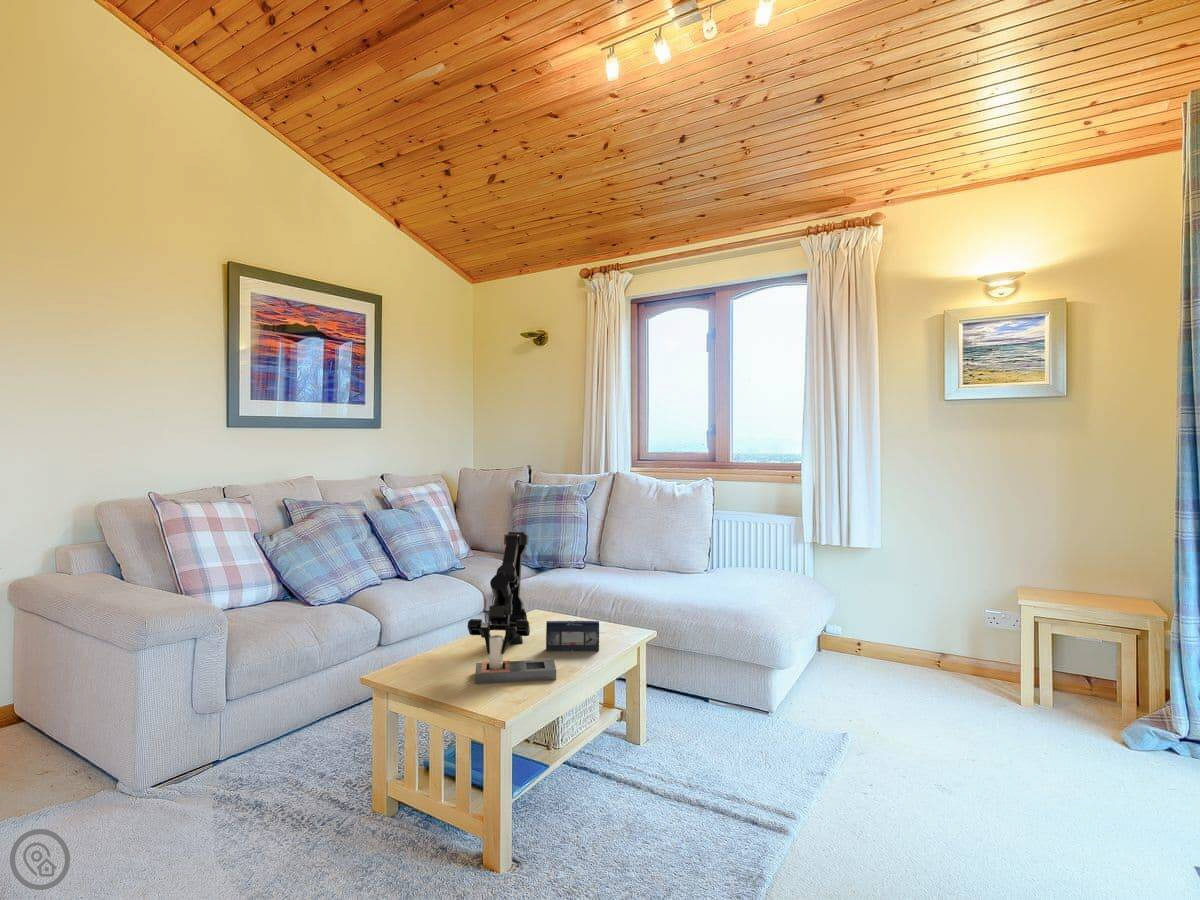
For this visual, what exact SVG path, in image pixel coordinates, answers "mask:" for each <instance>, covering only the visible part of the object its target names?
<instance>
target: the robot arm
mask: <svg viewBox="0 0 1200 900" xmlns="http://www.w3.org/2000/svg"><path fill="white" fill-rule="evenodd" d="M529 537H530V536H529V534H527V533H526V531H508V533H507V534H503V545H505V548H504V553H503V558H502V563H501V565H500V566H499V567H498V568H497V570H496V573H495V575H494V576H493V577H492V578H491V580H490V582H489V584H490V589H491V593H492V596H493V605H489V607H488V608H489V609H488V617H489V618H488V622H483V620H482V619H481V618H470V619H469V620H468V622H467V630H468V633H469V635H471V636H480V637H481V638H483V639H484V640H485V641H484V642H485V646H486V647H485V648H486V653H487V655H489V645H490V637H491V636H492V634H491V631H505V633H504V636H503V646H502V654H503V655H504V654H505V652H506V650H507V649H508V648H509V646H510V645H514V644H516V645H517V644H523V641H524V640H523V637H529V636H530V632H531V627H530V622H529V621H528V616H527V612H526V608H524V607H525V606H524V603H523V600H522V599H521V579H522V578H521V577H522V576H521V575H522V559H523V555H524V554H525V553H526V550H527V548H528V547H527V546H528V545H529V540H530V538H529ZM489 622H490V623H489Z"/></svg>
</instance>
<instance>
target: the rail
mask: <svg viewBox="0 0 1200 900" xmlns="http://www.w3.org/2000/svg"><path fill="white" fill-rule="evenodd" d="M556 680H557V667H556V663H555V660H554V659H553V658H552V659H533V660H531V659H530V660H516V661H515V660H513V661H511V660H503V669H502V670H489V661H481V662H476V663H475V672H474V684H475V685H481V684H482V685H484V684H485V685H486V684H504V683H505V684H506V683H519V682H522V683H523V682H540V681H556Z"/></svg>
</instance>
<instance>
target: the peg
mask: <svg viewBox="0 0 1200 900" xmlns="http://www.w3.org/2000/svg"><path fill="white" fill-rule="evenodd" d="M503 642H504V636H503V635H499V634H497V635H491V637H490V645H489V654H488V655H489V658H488V662H489V670H502V669H503V661H504V658H503V656H504V654H502V646H503Z"/></svg>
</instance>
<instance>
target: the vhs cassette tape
mask: <svg viewBox="0 0 1200 900" xmlns="http://www.w3.org/2000/svg"><path fill="white" fill-rule="evenodd" d="M545 625H546V626H545V627H546V629H545V651H546V652H599V651H600V621H599V620H546V623H545Z"/></svg>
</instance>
